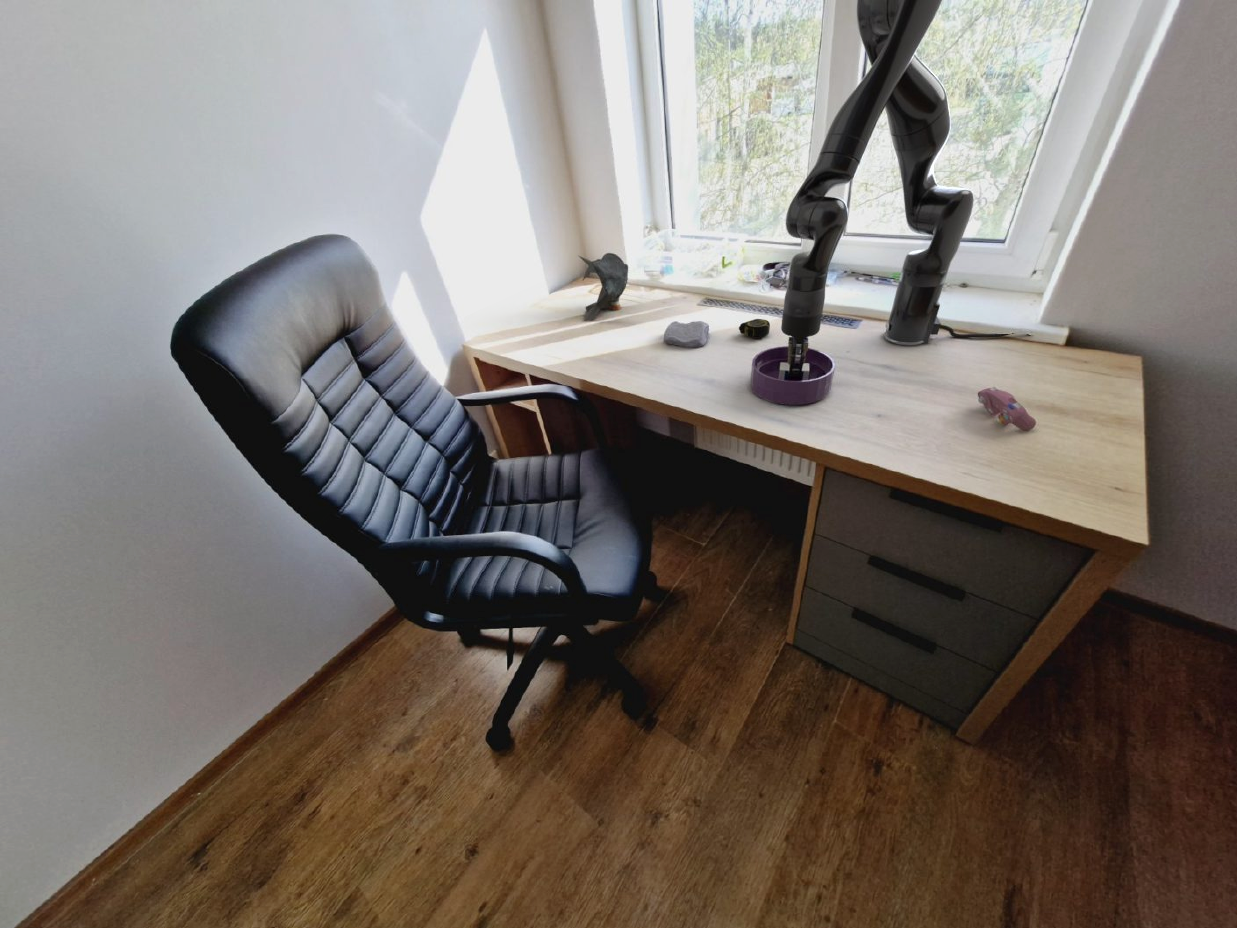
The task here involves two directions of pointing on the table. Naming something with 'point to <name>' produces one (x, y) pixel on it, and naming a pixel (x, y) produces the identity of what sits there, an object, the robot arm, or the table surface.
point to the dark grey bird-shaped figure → (607, 283)
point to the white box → (785, 368)
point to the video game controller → (1006, 408)
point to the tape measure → (755, 328)
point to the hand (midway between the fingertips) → (792, 383)
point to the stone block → (687, 334)
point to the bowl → (791, 391)
